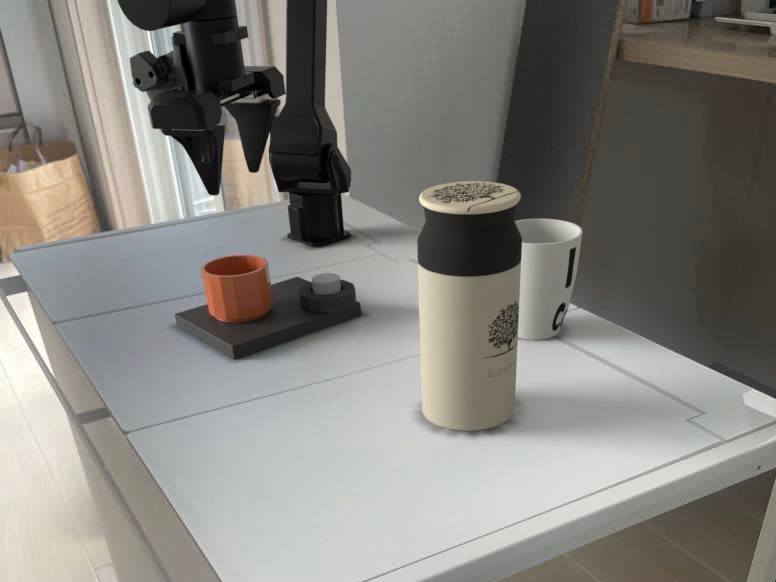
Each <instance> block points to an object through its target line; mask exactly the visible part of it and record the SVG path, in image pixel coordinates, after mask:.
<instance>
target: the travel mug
mask: <svg viewBox="0 0 776 582" xmlns="http://www.w3.org/2000/svg"><path fill="white" fill-rule="evenodd" d="M521 198H522V194H521V192H520V191H519V190H518V189H517V188H515V187H513V186H511V185H509V184H505V183H500V182H494V181H484V180H483V181H480V180H471V181H470V180H469V181H468V180H466V181H453V182H448V183H446V182H445V183H442V184H437V185H434V186H431V187H428V188H427V189H425V190H423V191H422V192H421V193H420V194H419V198H418V200H419V203H420V204H421V206H422V209H423V213H424V219H425V222H424V224H423V226H422V228H421V229H420V233H419V235H418V237H417V240H416V243H417V244H416V245H417V251H416V252H417V280H418V281H417V283H418V284H417V285H418V286H417V287H418V314H419V315H418V316H419V346H420V347H419V351H420V382H421V383H420V384H421V385H420V386H421V388H420V390H421V412H422V414H423V416H424V417H425V418H426V420H428V421H429V422H431V423H433V424H435V425H437V426H439V427H442V428H445V429H448V430H452V431H453V430H454V431H464V432H476V431H481V430H486V429H491V428H494V427H497V426H500V425H501V424H503V423H505V422H507V421H508V420H509V419H511V417H512V416H513V415H514V413H515V409H516V389H517V388H516V387H517V367H518V363H517V362H518V343H519V342H518V341H519V338H518V321H519V299H520V276H521V254H522V236H521V234H520V232H519V230H518V227H517V225H516V223H515V221H516V220H515V215H516V209H517V206H518V203H519V202H520V201H521Z"/></svg>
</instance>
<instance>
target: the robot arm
mask: <svg viewBox="0 0 776 582" xmlns="http://www.w3.org/2000/svg"><path fill="white" fill-rule="evenodd" d="M285 3H286V4H285V5H286V6H285V7H286V9H285V78H284V74H283V73H282V72H281V71H280V70H279V69H278V68H277V66H275V65H245V59H244V53H243V47H242V40H245V39H248V38H249V32H248V26H247V25H239V18H238V17H239V16H238V10H237V5H236V0H117V4H118V7H119V8H120V10H121V12H122V14H123V15H124V16H125V17H126V19H127V20H128V21H129V22H130V23H131V24H132V25H133V26H135V27H137V28H138V29H140V30H142V31H146V32H154V31H158V30H162V29H165V28H170V27H174V26H175V27H176V26H179V27H180V30H178V31H175V32H172V36H171V44H172V50H171V51H169V52H168V53H165V54H163V55H159V56H156V55H155V54H154V53H153V52H152V51H150V50H145V51H141V52H138V53H136V54H134V55H133V56H131V57H129V67H130V74H131V78H132V85H133V87H134V88H135V89H137V90H138V91H140V92H142V93H146V95H147V97H148V99H149V101H150V102H149V103H148V106H147V112H148V116H149V120H150V125H151V129H153V130H160V132H161V133H162V134H163V136H166V137H167V136H168V137H171V138H172V139H174V140H175V141H176V142H178V143H179V144H180V145H181V147H183V149H184V150H185V152H186V154H187V156H188V157H189V159H190V161H191V163H192V165H193V167H194V169H195V170H196V173H197V175H198V177H199V179H200V180H201V182H202V184H203V186H204V188H205V190H206V192H207V194H208V195H209V196H219V194H220V191H221V184H222V183H221V182H222V173H223V160H224V147H225V146H224V145H225V134H226V125H223V124H221V119H222V116H223V108H222V107H224V109H226V110H227V112H228V113H229V114H230V115H231V116H232V118H233V119H234V120H235V122H236V127H237V130H238V135H239V139H240V143H241V148H242V151H243V155H244V161H245V163H246V167H247V170H248V172H249V173H252V174H256V173H258V172H259V171H260V168H261V165H262V161H263V157H264V154H265V151H266V147H267V143H268V140H269V146H268V162H269V165H270V169H271V172H272V175H273V179H274V182H275V185H276V189H277V192H278V193H288V199H289V204H288V205H287V214H288V221H289V230H290V232H288V233H287V234H286V236H287V238H288V239H290V240H293V241H296V242H299V243H300V244H304V245H306V246H308V247H312V248H315V247H319V246H324V245H326V244H330V243H334V242H337V241H340V240H344V239H348V238H351V237H352V232H350V231H348V230H345V226H344V214H343V213H344V212H343V201H342V194H346V193H349V192H350V188H351V183H352V169H351V166H350V165H349V164H348V161H347V160H346V159H345V157H344V155H343V153H342V152H341V150H340V148H339V147H338V146H339V145H338V131H337V129H336V126H335V125H334V122H333V121H332V119H331V116H330V115H329V113H328V111H327V109H326V76H327V75H326V74H327V73H326V72H327V70H326V69H327V31H328V30H327V28H328V0H286V1H285ZM284 95H285V99H284V100H285V101H284V105H283V106H282V108H281V110H280V112H279V114H278V115H276V114H277V111H278V108H279V106H281V103H282V100H281V99H279V98H280V97H282V96H284Z"/></svg>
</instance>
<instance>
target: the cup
mask: <svg viewBox="0 0 776 582" xmlns="http://www.w3.org/2000/svg"><path fill="white" fill-rule="evenodd" d="M514 221H515V223H516V225H517V227H518V230H519V232H520V234H521V236H522V254H521V276H520V299H519V321H518V339H522V340H529V341H541V340H548V339H551V338H553V337H556V336H557V335H558V334H559V332H560V331H561V328H562V325H563V322H564V320H565V318H566V315H567V313H568V310H569V307H570V303H571V299H572V296H573V295H572V294H573V292H574V286H575V283H576V279H577V275H578V274H577V273H578V266H579V260H580V253H581V245H582V240H583V239H582V238H583V228H582V227H581V226H580V225H578V224H576V223H574V222H571V221H567V220H563V219H555V218H525V219H519V220H514Z"/></svg>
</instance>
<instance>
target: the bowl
mask: <svg viewBox="0 0 776 582" xmlns="http://www.w3.org/2000/svg"><path fill="white" fill-rule="evenodd" d="M200 273H201V278H202V283H203V284H202V285H203V288H204V295H205V301H206V304H207V306H208V311H209V313H210V315H212V316H214V317H215V318H216V319H218V320H220V321H223V322H231V323H239V322H248V321H252V320H256V319H259V318H261V317H263V316H265V315H266V314H267V313H268V312H269V310H271V308H272V307H273V297H272V289H271V285H272V283H271V276H270V275H271V274H270V268H269V262H268V260H267V259H266V258H264V257H262V256H260V255H254V254H232V255H224V256H220V257H216V258H213V259H211V260H209V261H207V262H205V263H203V264H202V266H201V267H200Z"/></svg>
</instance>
